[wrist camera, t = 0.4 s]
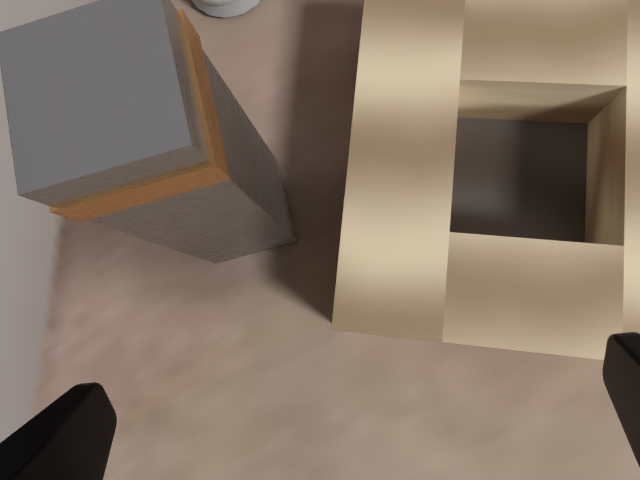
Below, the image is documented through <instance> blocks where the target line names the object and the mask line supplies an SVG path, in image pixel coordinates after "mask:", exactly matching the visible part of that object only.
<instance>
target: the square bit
mask: <svg viewBox="0 0 640 480" xmlns="http://www.w3.org/2000/svg"><path fill="white" fill-rule="evenodd" d="M0 65H1V73H2V81H3V88H4V95H5V102H6V110H7V117H8V124H9V132H10V139H11V147H12V154H13V161H14V168H15V176H16V183H17V191H18V195H20V196H22V197H25V198H28V199H31V200H34V201H37V202H40V203H43V204H46V205H48V206H50V212H51V213H54V214H57V215H60V216H63V217H66V218H69V219H72V220H75V221H78V222H82V221H86V220H92V221H95V222H98V223H100V224H103V225H106V226H109V227H112V228H115V229H118V230H121V231H123V232H126V233H129V234H132V235H135V236H138V237H141V238H144V239H147V240H149V241H152V242H155V243H158V244H161V245H164V246H167V247H170V248H173V249H175V250H178V251H181V252H184V253H187V254H190V255H193V256H196V257H199V258H201V259H204V260H207V261H210V262H213V263H219V262H222V261H226V260H230V259H233V258H237V257H241V256H245V255H248V254H252V253H256V252H260V251H263V250H267V249H271V248H274V247H278V246H282V245H286V244H289V243H293V242H297V240H296V235H295V231H294V227H293V223H292V219H291V215H290V211H289V207H288V202H287V198H286V194H285V190H284V186H283V182H282V178H281V173H280V169H279V165H278V162H277V160H276V159H275V157H274V156H273V154H272V153H271V151H270V150H269V148H268V147H267V145H266V144H265V142H264V141H263V139H262V138H261V136H260V135H259V133H258V132H257V130H256V129H255V127H254V126H253V124H252V123H251V121H250V120H249V118H248V117H247V115H246V114H245V112H244V111H243V109H242V108H241V106H240V105H239V103H238V102H237V100H236V99H235V97H234V96H233V94H232V93H231V91H230V90H229V88H228V87H227V85H226V84H225V82H224V81H223V79H222V78H221V76H220V75H219V73H218V72H217V70H216V69H215V67H214V66H213V64H212V63H211V61H210V60H209V58H208V57H207V55H206V54H205V52H204V51H203V49H202V46H201V41H200V37H199V35H198V33H197V32H196V30H195V28H194V27H193V25H192V24H191V22H190V21H189V19H188V18H187V16H186V15H185V13H184V11H183V10H182V9H181V10H176V9H175V7H174V6H173V4H172V3H171V1H170V0H99V1H96V2H93V3H90V4H87V5H83V6H81V7H77V8H74V9H72V10H68V11H65V12H62V13H59V14H55V15H52V16H49V17H46V18H43V19H40V20H37V21H33V22H31V23H27V24H24V25H21V26H18V27H15V28H12V29H9V30H5V31H3V32H0Z"/></svg>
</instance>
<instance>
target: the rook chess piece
mask: <svg viewBox="0 0 640 480" xmlns="http://www.w3.org/2000/svg"><path fill="white" fill-rule="evenodd" d="M192 1H193V3H194V4H195V6H196V7H197V8H198V9H200V10H202V11H203V12H205V13H206V14H208V15H210V16H217V17H224V18H229V17H234V16H238V15H242V14H244V13H246V12H247V11H249V10H251V9H252V8H254V7H255V6H256V5H257V4H258V3H259V1H260V0H192Z"/></svg>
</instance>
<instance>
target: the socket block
mask: <svg viewBox="0 0 640 480" xmlns="http://www.w3.org/2000/svg"><path fill="white" fill-rule="evenodd" d="M331 330H337V331H346V332H355V333H364V334H373V335H382V336H391V337H400V338H409V339H418V340H428V341H437V342H446V343H455V344H464V345H473V346H482V347H491V348H500V349H509V350H519V351H528V352H537V353H546V354H555V355H564V356H573V357H582V358H591V359H600V360H604V357H605V351H606V344H607V340H608V337H609V336H610V335H612V334H616V333H626V332H637V333H640V0H364V7H363V17H362V27H361V37H360V47H359V57H358V67H357V77H356V87H355V97H354V107H353V117H352V127H351V137H350V147H349V157H348V167H347V177H346V187H345V197H344V207H343V217H342V227H341V237H340V247H339V257H338V267H337V277H336V287H335V297H334V307H333V317H332V327H331Z"/></svg>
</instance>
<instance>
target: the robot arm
mask: <svg viewBox="0 0 640 480" xmlns="http://www.w3.org/2000/svg"><path fill="white" fill-rule="evenodd" d="M603 380H604V383H605V386H606V388H607V391H608V393H609V396H610V398H611V400H612V403H613V405H614V408H615V410H616V412H617V415H618V417H619V420H620V422H621V424H622V427H623V429H624V432H625V434H626V436H627V439H628V441H629V444H630V446H631V448H632V451H633V453H634V455H635V458H636V460H637V462H638V464H639V467H640V333H637V332H626V333H616V334H612V335H610V336H609V337H608V340H607V344H606V351H605V357H604V364H603ZM116 423H117V418H116V413H115V410H114V408H113V406H112V404H111V402H110V400H109V398H108V396H107V394H106V392H105V390H104V388H103V387H102V385H100V384H99V383H96V382H94V383H83V384H78V385H75V386H74V387H72V388H71V389H70V390H68V391H67V392H66V393H64V394H63V395H62V396H61V397H59V398H58V399H57V400H55V401H54V402H53V403H51V404H50V405H49V406H48V407H46V408H45V409H44V410H42V411H41V412H40V413H39V414H37V415H36V416H35V417H33V418H32V419H31V420H30V421H28V422H27V423H26V424H24V425H23V426H22V427H20V428H19V429H18V430H17V431H15V432H14V433H13V434H11V435H10V436H9V437H8V438H6V439H5V440H4V441H2V442H1V443H0V480H103V477H104V473H105V469H106V465H107V461H108V457H109V453H110V449H111V445H112V441H113V437H114V433H115V429H116Z"/></svg>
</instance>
